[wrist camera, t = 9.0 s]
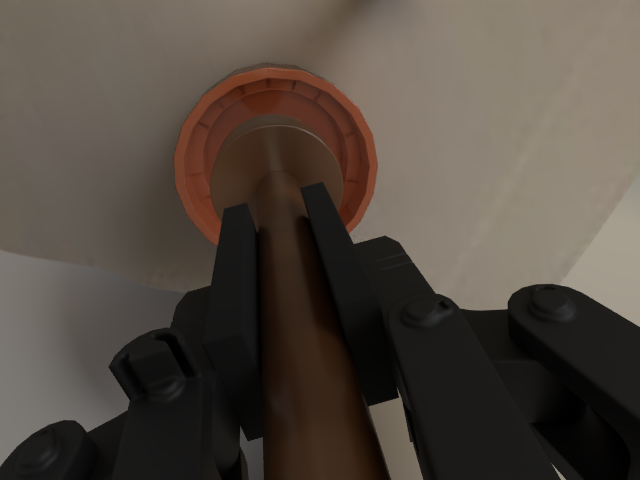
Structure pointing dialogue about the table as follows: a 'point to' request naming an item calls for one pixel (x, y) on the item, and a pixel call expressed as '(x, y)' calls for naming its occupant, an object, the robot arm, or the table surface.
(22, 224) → the table surface
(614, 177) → the table surface
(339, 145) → the bowl
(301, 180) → the dark brown rod
